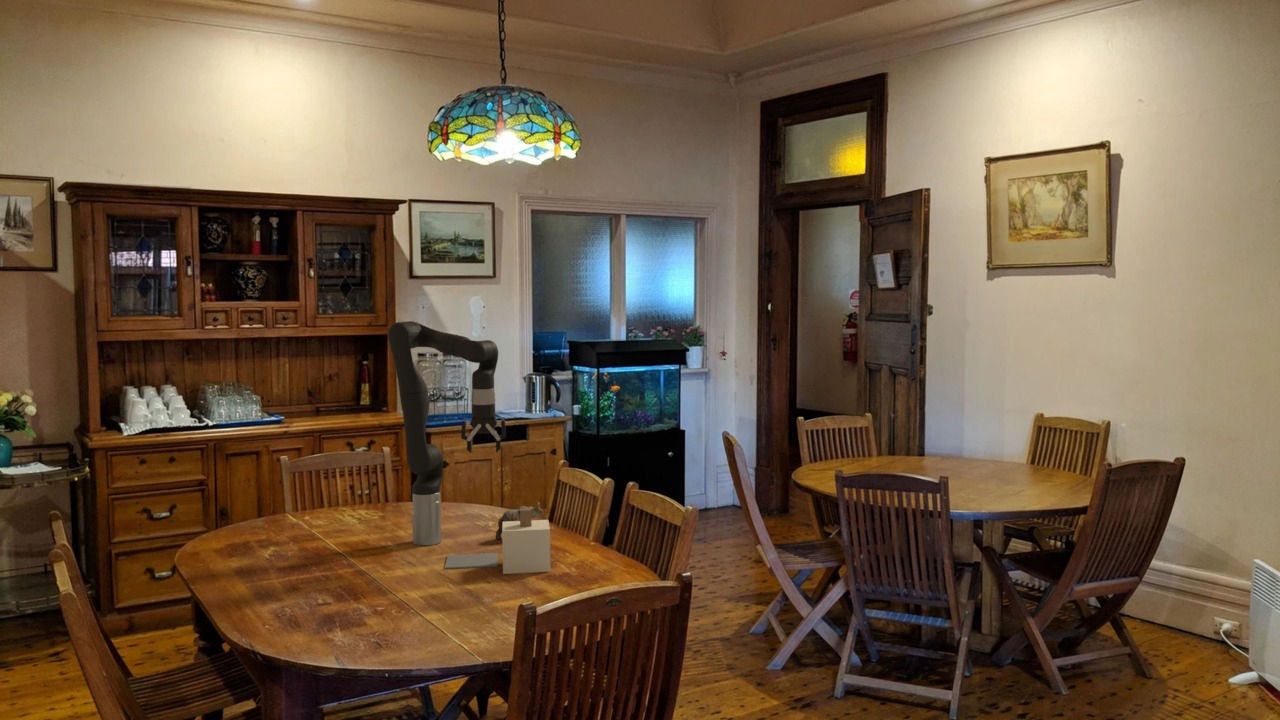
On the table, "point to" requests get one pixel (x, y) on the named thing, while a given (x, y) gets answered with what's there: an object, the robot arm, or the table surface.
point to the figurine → (516, 517)
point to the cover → (526, 545)
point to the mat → (472, 560)
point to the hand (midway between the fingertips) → (483, 452)
